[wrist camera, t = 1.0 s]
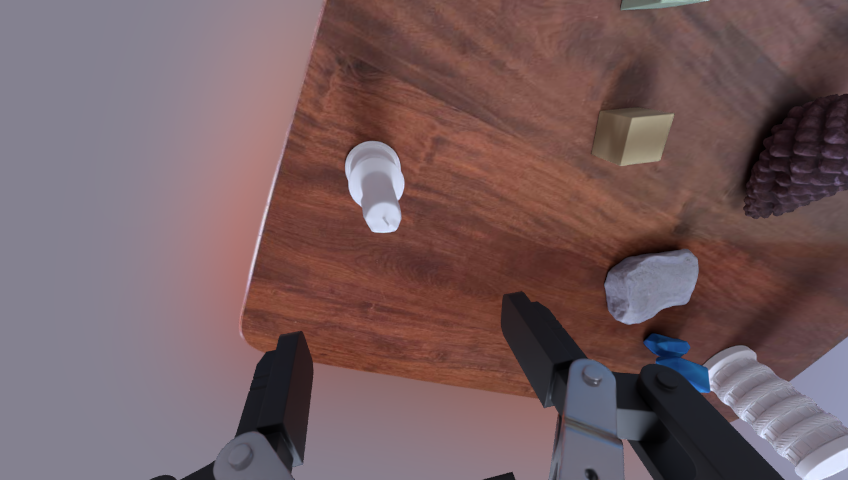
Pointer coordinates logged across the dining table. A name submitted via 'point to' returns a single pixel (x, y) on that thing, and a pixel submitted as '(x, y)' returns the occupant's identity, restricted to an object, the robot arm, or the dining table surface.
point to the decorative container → (779, 413)
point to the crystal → (678, 360)
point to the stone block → (650, 284)
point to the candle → (376, 184)
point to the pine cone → (801, 159)
